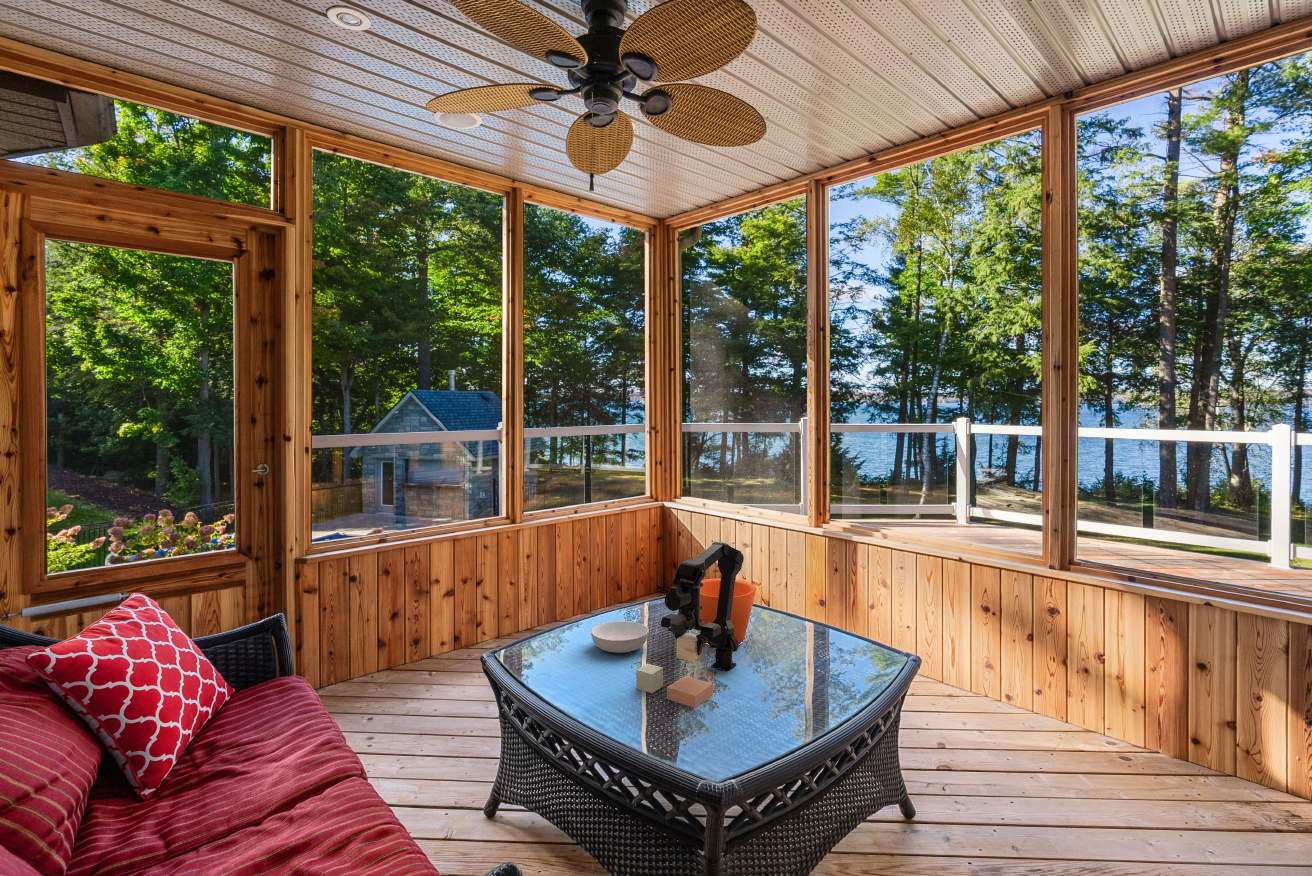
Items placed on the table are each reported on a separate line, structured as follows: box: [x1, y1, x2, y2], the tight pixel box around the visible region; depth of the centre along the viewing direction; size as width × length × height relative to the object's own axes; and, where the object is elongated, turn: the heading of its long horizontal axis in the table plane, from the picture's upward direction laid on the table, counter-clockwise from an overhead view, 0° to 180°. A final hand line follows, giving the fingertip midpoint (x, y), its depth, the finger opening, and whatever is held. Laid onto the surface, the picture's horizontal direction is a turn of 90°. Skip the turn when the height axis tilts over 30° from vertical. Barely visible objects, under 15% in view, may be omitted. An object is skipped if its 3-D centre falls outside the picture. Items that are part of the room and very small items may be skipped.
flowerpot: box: [700, 577, 757, 645], centre depth 243 cm, size 25×25×20 cm
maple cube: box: [676, 632, 704, 663], centre depth 200 cm, size 6×6×6 cm
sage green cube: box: [635, 663, 664, 694], centre depth 202 cm, size 6×6×6 cm
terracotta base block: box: [666, 675, 714, 709], centre depth 196 cm, size 10×10×4 cm
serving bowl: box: [590, 620, 650, 654], centre depth 235 cm, size 21×21×7 cm
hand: (689, 652), depth 201 cm, fingers closed on maple cube, 6 cm apart
